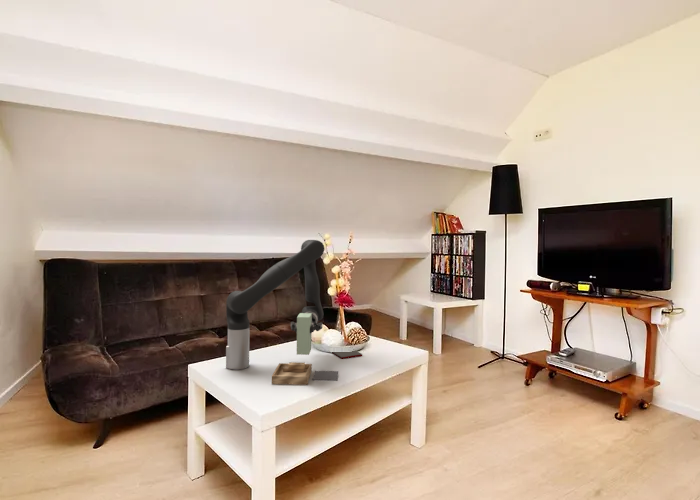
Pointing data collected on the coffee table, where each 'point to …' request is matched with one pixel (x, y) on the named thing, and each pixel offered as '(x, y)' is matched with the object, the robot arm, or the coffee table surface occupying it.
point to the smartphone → (347, 354)
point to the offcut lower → (293, 369)
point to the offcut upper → (296, 365)
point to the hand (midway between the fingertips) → (303, 330)
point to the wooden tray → (291, 375)
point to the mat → (325, 375)
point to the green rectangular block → (304, 333)
